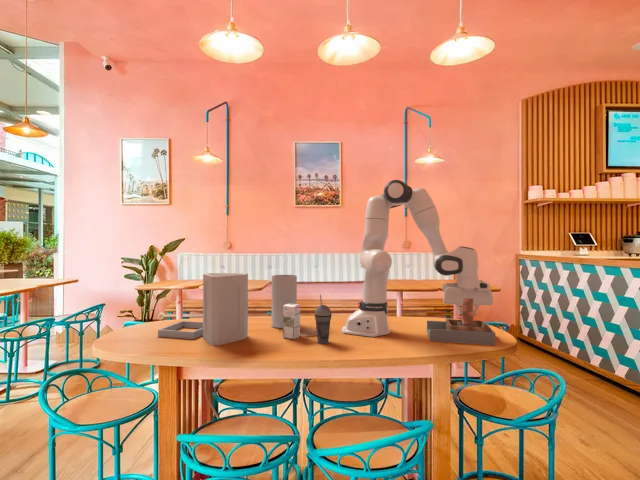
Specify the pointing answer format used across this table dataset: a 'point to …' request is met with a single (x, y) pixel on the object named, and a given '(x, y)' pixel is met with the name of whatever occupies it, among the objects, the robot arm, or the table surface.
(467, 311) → the reddish brown block
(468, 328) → the crate
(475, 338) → the tray
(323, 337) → the beverage cup
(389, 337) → the table surface
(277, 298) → the cylinder vase
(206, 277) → the paper bag
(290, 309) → the syrup box
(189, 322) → the gray square frame
